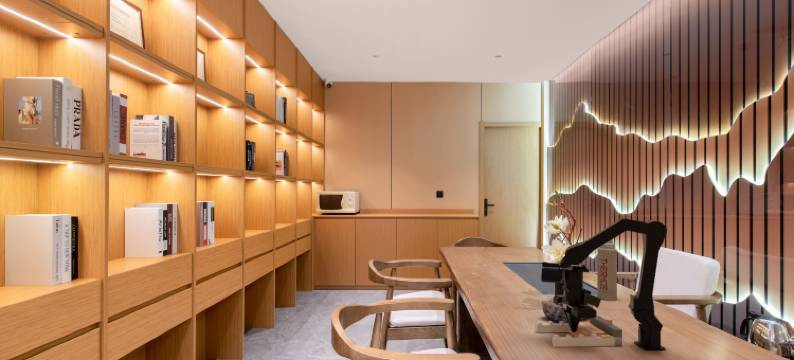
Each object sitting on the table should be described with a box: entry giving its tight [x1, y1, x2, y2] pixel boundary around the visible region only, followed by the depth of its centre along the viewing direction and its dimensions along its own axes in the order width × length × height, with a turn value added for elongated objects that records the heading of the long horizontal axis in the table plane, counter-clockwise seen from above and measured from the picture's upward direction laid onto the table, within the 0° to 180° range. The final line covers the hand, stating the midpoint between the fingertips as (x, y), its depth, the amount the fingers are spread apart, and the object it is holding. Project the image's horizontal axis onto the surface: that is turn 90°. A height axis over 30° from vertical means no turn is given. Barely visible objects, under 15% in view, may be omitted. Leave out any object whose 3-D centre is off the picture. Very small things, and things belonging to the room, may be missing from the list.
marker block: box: [569, 322, 605, 337], centre depth 145 cm, size 10×7×4 cm
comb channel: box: [535, 315, 623, 348], centre depth 144 cm, size 15×22×6 cm
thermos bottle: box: [596, 239, 618, 301], centre depth 197 cm, size 8×8×28 cm
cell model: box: [541, 290, 594, 323], centre depth 167 cm, size 13×11×20 cm
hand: (573, 331), depth 144 cm, fingers closed
